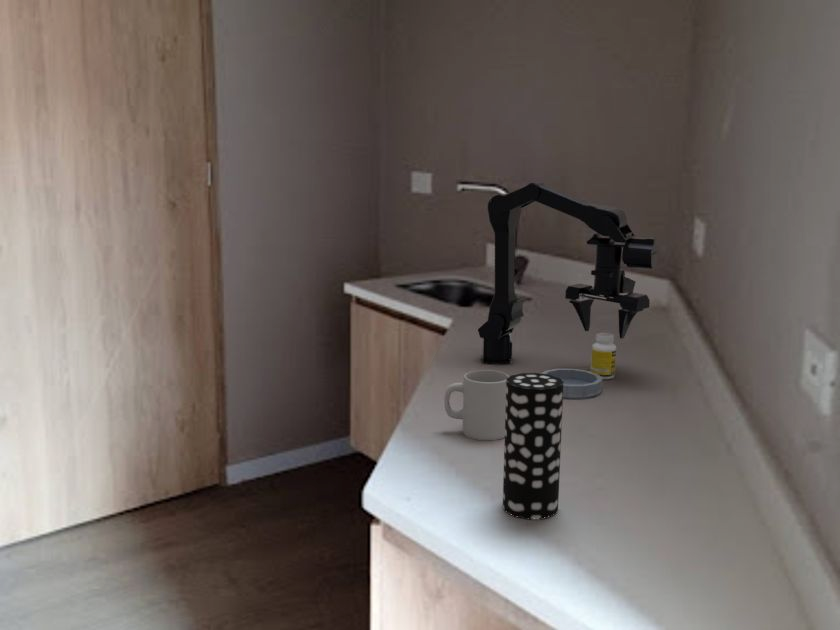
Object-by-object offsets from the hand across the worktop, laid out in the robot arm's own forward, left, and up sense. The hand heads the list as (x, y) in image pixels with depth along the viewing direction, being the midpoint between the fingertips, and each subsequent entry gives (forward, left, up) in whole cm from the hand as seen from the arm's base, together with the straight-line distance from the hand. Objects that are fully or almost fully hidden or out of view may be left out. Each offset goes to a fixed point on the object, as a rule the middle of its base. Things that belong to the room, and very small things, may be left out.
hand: (604, 334), depth 206 cm
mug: (-31, -37, -10) cm, 49 cm away
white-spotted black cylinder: (-25, -70, -10) cm, 75 cm away
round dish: (-9, -10, -10) cm, 17 cm away
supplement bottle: (0, 0, -10) cm, 10 cm away
